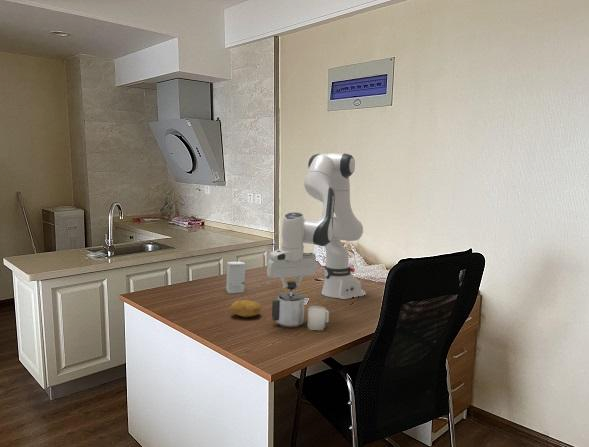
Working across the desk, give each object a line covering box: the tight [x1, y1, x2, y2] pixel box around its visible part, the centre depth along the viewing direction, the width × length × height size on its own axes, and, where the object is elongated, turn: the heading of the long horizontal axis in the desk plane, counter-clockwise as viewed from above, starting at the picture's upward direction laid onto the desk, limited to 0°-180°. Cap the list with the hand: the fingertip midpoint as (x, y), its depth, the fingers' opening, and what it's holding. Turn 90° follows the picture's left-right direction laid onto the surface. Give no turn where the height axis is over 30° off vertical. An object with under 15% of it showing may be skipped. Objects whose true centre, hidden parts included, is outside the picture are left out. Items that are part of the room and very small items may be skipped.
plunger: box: [286, 280, 297, 301], centre depth 178 cm, size 8×8×15 cm
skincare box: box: [225, 261, 246, 294], centre depth 219 cm, size 8×6×15 cm
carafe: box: [271, 290, 305, 328], centre depth 178 cm, size 13×11×12 cm
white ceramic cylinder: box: [306, 305, 330, 331], centre depth 174 cm, size 8×7×8 cm
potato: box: [230, 299, 262, 318], centre depth 185 cm, size 9×13×7 cm
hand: (291, 287), depth 177 cm, fingers closed on plunger, 4 cm apart
